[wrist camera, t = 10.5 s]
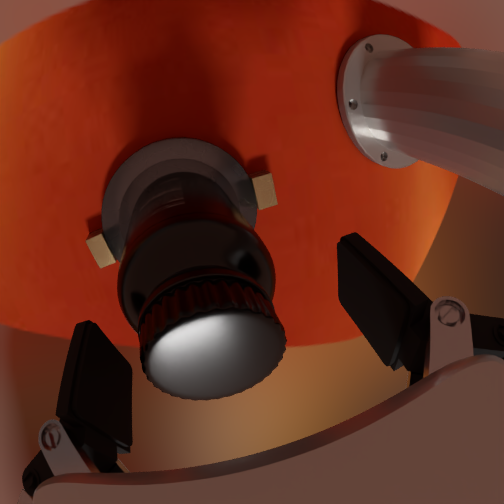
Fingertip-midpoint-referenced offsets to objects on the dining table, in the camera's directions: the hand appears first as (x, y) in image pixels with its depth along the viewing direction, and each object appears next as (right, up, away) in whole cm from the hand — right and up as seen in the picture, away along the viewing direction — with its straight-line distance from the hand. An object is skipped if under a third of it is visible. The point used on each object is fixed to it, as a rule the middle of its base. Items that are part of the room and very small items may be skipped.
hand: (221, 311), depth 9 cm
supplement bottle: (-4, +4, +9) cm, 10 cm away
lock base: (-4, +5, +9) cm, 11 cm away
